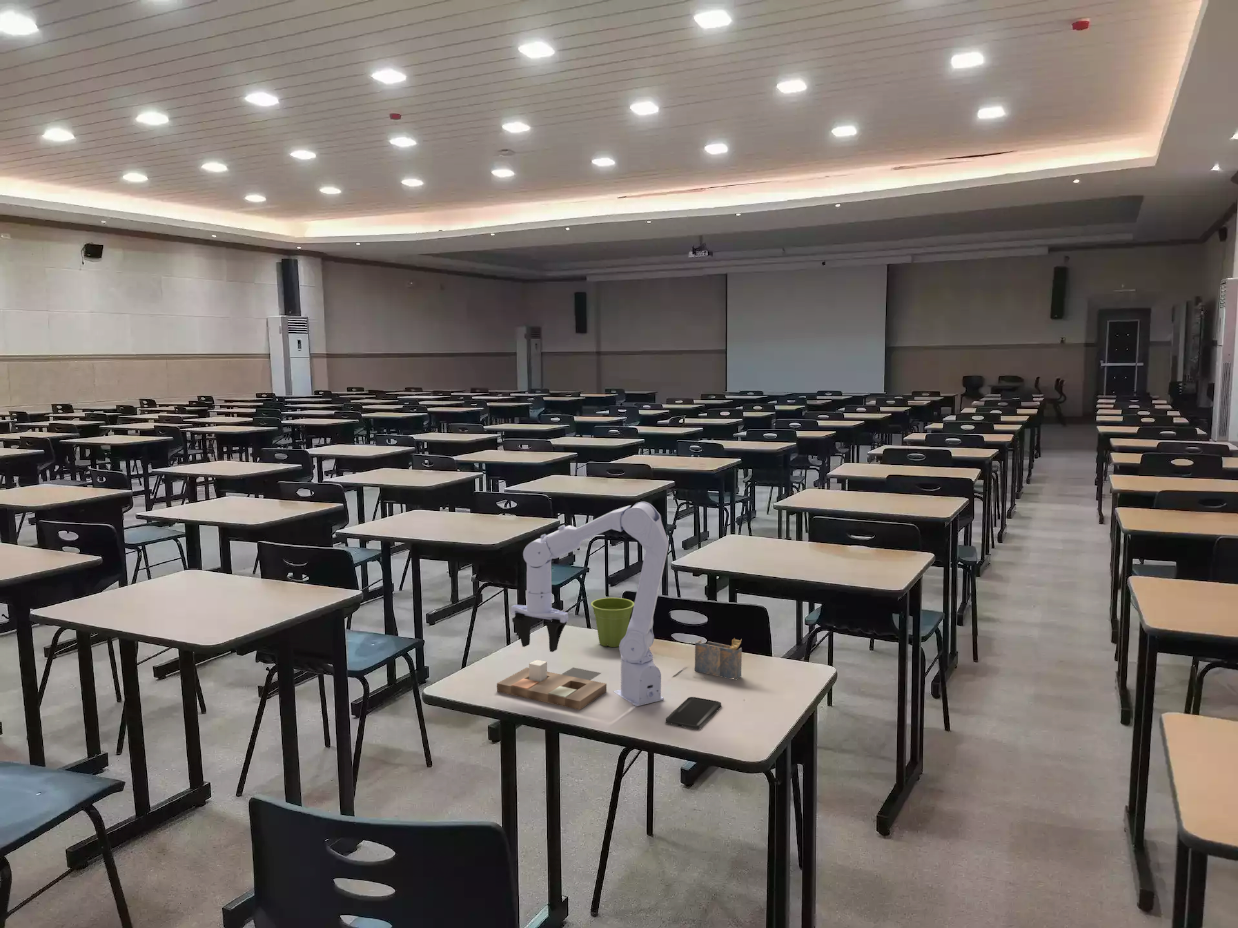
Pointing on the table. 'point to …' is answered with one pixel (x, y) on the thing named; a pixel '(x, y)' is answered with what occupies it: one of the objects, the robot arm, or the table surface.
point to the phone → (693, 713)
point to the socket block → (553, 689)
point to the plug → (538, 670)
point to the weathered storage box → (719, 659)
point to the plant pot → (612, 619)
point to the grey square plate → (581, 673)
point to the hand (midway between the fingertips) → (539, 647)
